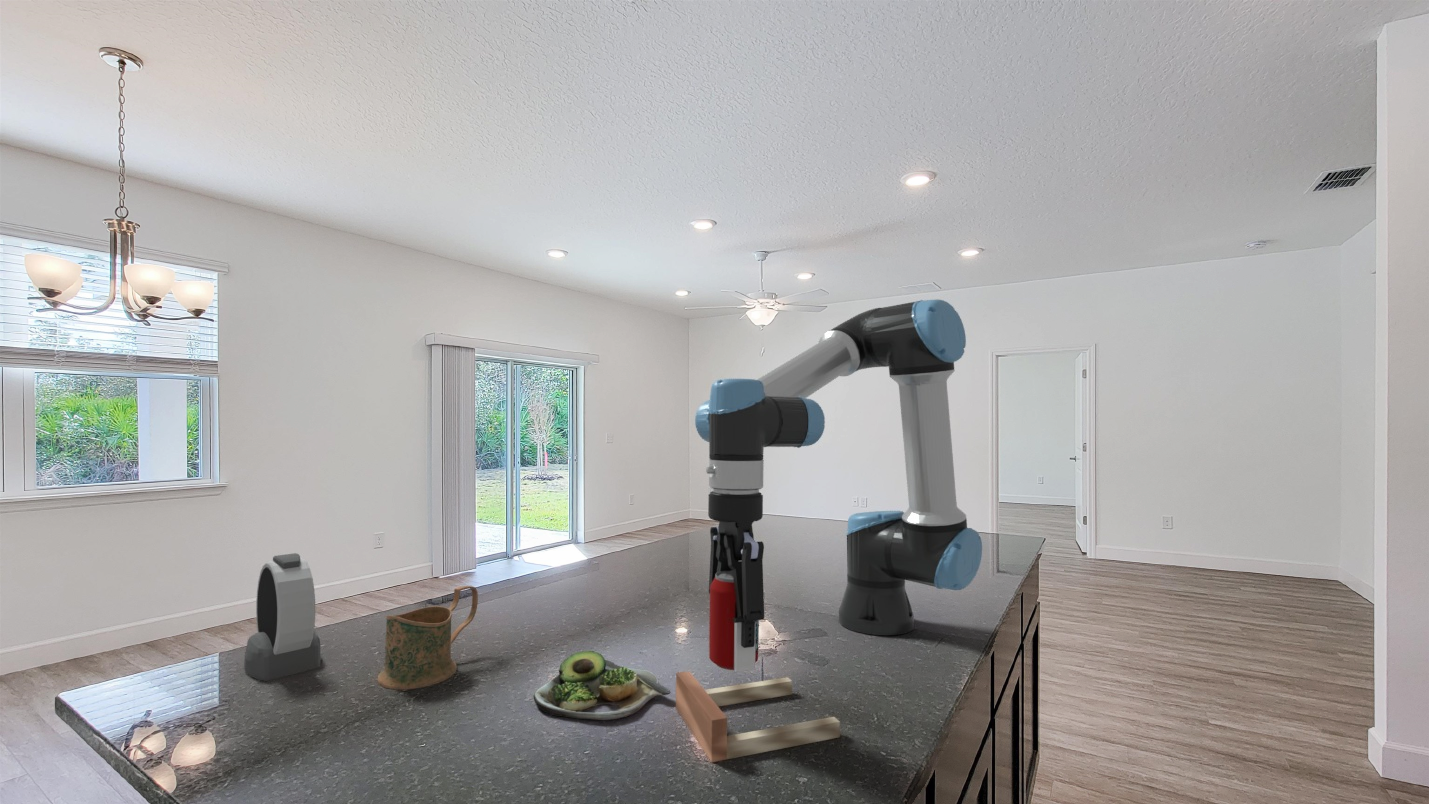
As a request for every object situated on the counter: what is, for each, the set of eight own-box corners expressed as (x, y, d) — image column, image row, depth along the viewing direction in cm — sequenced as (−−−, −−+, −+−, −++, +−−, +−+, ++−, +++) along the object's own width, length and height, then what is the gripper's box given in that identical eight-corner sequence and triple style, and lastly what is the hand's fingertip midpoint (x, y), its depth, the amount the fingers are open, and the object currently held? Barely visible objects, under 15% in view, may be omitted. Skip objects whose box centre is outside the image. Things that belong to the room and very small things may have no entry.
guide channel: (787, 690, 94) (787, 657, 95) (839, 737, 80) (839, 698, 80) (675, 707, 88) (676, 672, 88) (711, 762, 74) (711, 720, 74)
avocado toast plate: (689, 682, 98) (689, 653, 98) (641, 735, 81) (641, 700, 81) (583, 666, 104) (583, 639, 104) (517, 713, 87) (518, 680, 87)
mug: (498, 655, 108) (500, 586, 108) (411, 695, 92) (414, 614, 92) (451, 644, 112) (453, 579, 113) (361, 680, 97) (363, 604, 97)
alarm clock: (235, 659, 105) (239, 552, 106) (305, 643, 112) (308, 544, 113) (256, 687, 94) (260, 567, 95) (332, 668, 101) (335, 557, 102)
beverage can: (754, 675, 79) (755, 582, 80) (704, 670, 81) (705, 579, 81) (761, 656, 86) (762, 570, 86) (714, 652, 87) (715, 567, 88)
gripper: (688, 484, 92) (685, 638, 91) (738, 499, 74) (735, 693, 73) (734, 483, 95) (732, 633, 94) (793, 498, 76) (791, 684, 75)
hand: (733, 659), depth 83 cm, fingers closed on beverage can, 7 cm apart
